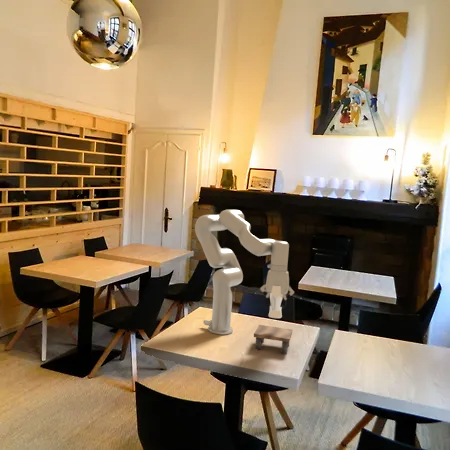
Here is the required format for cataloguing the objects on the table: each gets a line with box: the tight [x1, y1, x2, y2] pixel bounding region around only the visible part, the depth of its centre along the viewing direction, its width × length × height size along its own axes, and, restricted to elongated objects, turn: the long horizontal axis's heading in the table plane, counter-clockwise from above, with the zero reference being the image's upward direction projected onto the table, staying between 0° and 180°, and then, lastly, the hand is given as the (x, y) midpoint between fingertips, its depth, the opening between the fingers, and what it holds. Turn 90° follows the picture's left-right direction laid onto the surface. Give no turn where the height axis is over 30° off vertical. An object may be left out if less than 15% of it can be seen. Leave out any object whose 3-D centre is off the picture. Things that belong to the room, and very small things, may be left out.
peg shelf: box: [253, 324, 293, 355], centre depth 203 cm, size 16×14×8 cm
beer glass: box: [268, 285, 284, 319], centre depth 201 cm, size 7×7×15 cm
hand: (275, 306), depth 201 cm, fingers closed on beer glass, 6 cm apart
